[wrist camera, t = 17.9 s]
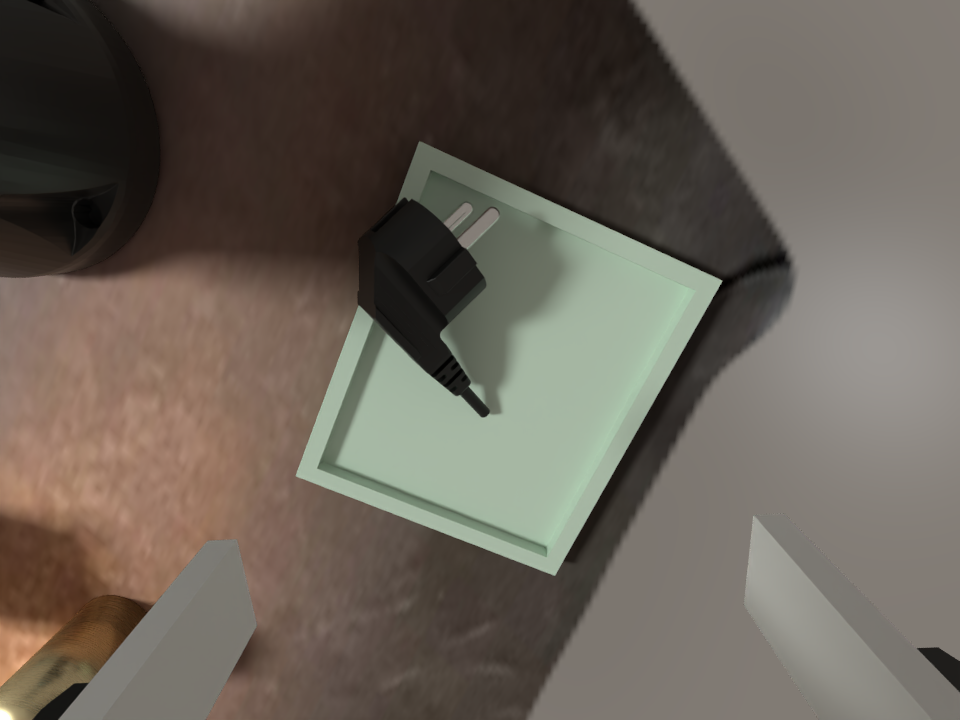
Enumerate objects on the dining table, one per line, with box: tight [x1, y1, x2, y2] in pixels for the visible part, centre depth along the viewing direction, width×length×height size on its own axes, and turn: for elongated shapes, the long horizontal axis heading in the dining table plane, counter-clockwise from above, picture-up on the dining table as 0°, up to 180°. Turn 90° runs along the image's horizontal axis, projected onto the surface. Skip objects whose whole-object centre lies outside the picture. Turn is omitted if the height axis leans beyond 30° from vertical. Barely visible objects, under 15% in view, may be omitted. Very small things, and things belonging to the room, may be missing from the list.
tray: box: [296, 141, 722, 576], centre depth 29 cm, size 20×17×2 cm
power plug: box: [358, 197, 501, 418], centre depth 26 cm, size 6×8×12 cm
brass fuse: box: [0, 595, 147, 720], centre depth 31 cm, size 5×5×8 cm
